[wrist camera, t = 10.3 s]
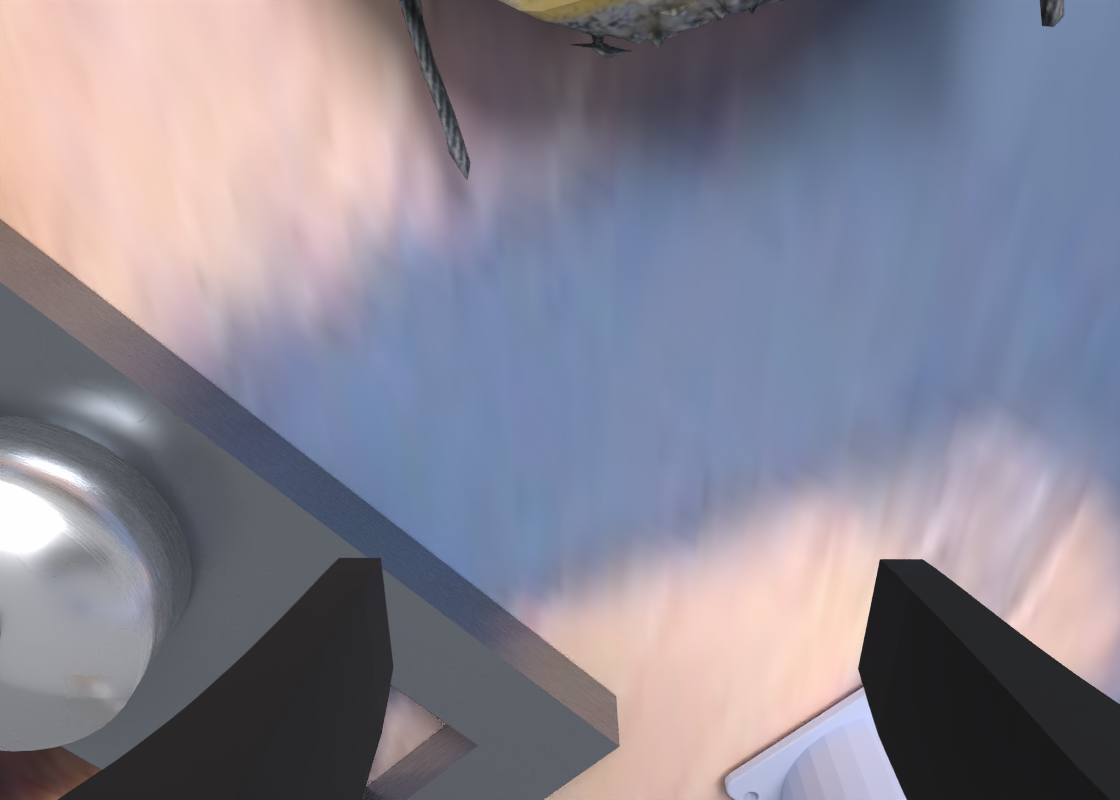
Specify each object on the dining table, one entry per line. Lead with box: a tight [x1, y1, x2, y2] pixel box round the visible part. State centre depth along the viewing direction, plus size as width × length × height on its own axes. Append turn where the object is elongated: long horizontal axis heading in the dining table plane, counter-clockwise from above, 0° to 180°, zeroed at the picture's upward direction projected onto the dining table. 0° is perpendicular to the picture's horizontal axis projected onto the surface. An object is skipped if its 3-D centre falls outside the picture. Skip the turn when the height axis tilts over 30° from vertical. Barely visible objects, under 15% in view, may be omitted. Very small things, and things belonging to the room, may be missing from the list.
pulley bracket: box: [0, 219, 619, 800], centre depth 22 cm, size 22×12×6 cm, turn 45°
